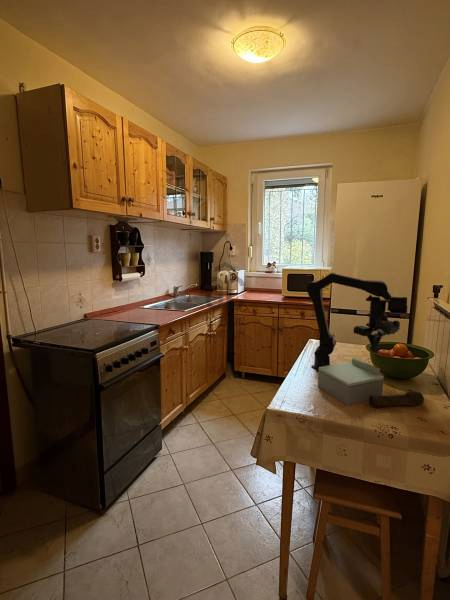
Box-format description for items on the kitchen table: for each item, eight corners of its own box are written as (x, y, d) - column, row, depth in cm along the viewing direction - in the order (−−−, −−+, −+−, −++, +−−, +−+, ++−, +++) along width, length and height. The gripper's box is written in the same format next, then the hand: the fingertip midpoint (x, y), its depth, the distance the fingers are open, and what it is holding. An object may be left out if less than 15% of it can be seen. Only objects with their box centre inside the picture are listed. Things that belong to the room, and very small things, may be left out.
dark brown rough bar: (373, 410, 107) (374, 397, 106) (367, 404, 111) (368, 391, 110) (428, 409, 107) (429, 396, 107) (420, 403, 111) (422, 390, 110)
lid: (318, 369, 123) (319, 361, 122) (350, 363, 129) (351, 356, 128) (348, 386, 108) (349, 377, 108) (383, 379, 114) (384, 370, 114)
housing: (317, 386, 124) (318, 370, 123) (349, 379, 130) (350, 364, 129) (347, 404, 110) (348, 387, 108) (381, 396, 115) (383, 379, 114)
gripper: (376, 318, 118) (372, 358, 120) (411, 314, 125) (407, 352, 127) (353, 312, 128) (351, 349, 130) (387, 309, 135) (384, 344, 137)
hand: (374, 349), depth 131 cm, fingers closed
